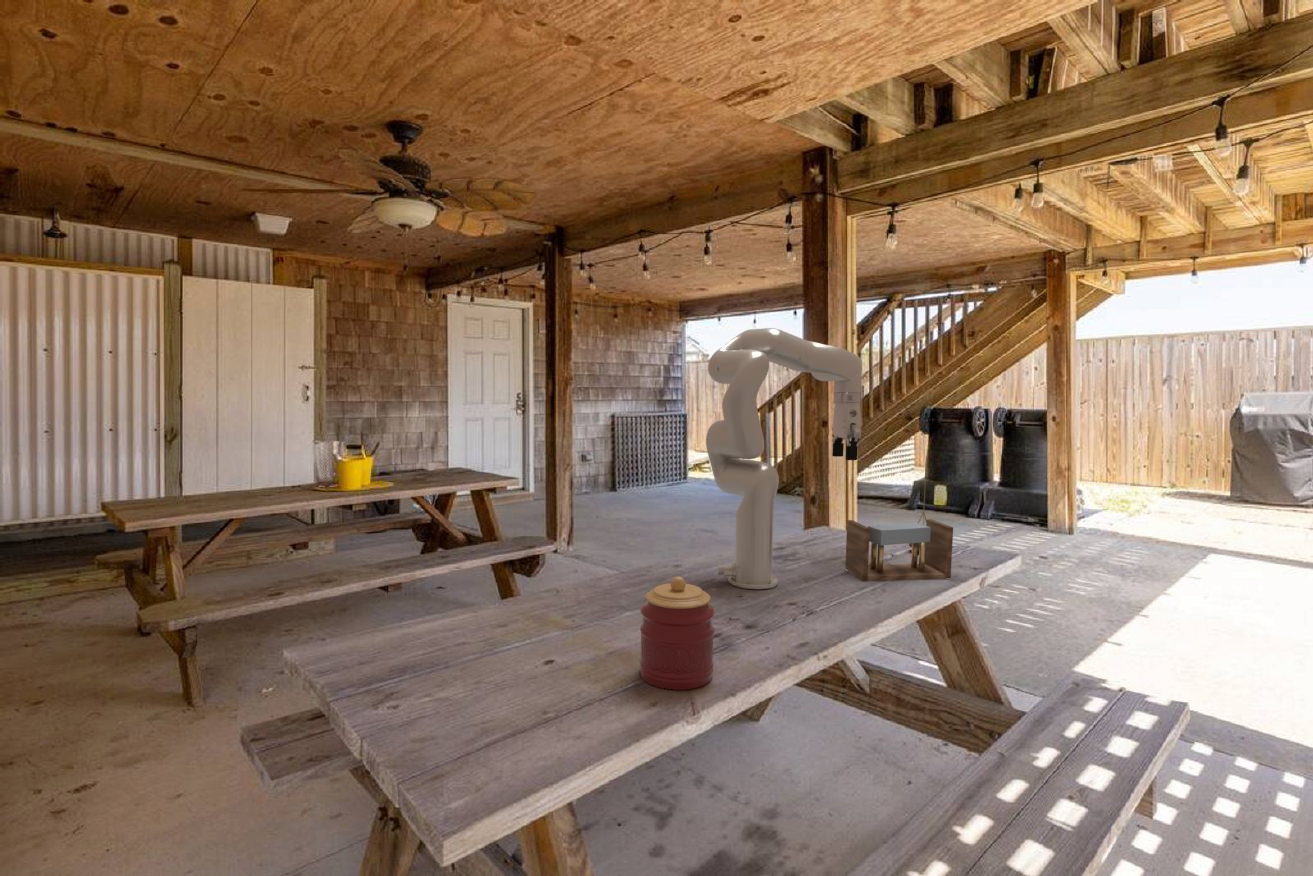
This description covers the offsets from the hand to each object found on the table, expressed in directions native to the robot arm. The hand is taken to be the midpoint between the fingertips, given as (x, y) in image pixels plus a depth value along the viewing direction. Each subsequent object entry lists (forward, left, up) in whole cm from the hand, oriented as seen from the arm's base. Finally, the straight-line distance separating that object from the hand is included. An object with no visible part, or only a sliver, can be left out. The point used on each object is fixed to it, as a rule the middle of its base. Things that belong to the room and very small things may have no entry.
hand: (844, 458), depth 200 cm
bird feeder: (+30, +8, -31) cm, 44 cm away
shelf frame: (+10, -15, -30) cm, 35 cm away
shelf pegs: (+10, -15, -29) cm, 34 cm away
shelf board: (+10, -15, -21) cm, 28 cm away
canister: (-61, -74, -31) cm, 101 cm away
